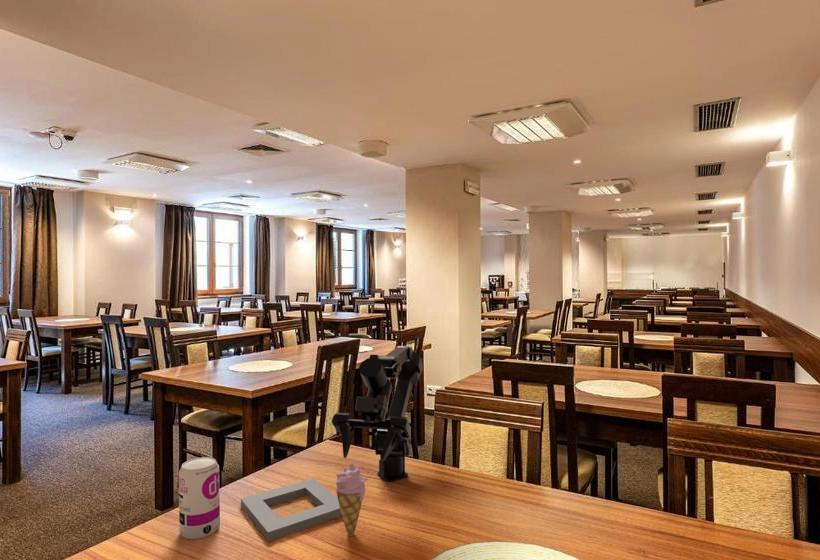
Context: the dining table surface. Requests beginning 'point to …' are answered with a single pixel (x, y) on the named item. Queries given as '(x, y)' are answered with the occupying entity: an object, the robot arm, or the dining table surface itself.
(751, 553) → the dining table surface
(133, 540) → the dining table surface
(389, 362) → the robot arm
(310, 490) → the grey flat square frame
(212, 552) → the dining table surface
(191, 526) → the supplement can
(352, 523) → the ice cream cone
